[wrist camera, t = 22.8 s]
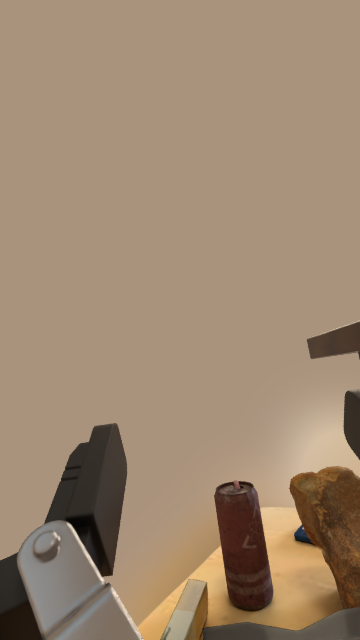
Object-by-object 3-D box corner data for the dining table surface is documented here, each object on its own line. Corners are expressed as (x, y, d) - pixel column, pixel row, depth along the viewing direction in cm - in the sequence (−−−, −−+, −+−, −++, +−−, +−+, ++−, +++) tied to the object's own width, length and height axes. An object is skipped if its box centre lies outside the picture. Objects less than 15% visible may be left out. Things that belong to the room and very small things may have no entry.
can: (267, 578, 48) (251, 477, 51) (279, 608, 42) (259, 490, 44) (226, 584, 48) (211, 482, 51) (231, 614, 42) (214, 496, 45)
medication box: (179, 706, 31) (177, 659, 32) (153, 699, 32) (151, 652, 33) (209, 613, 43) (207, 579, 43) (189, 609, 43) (187, 576, 44)
